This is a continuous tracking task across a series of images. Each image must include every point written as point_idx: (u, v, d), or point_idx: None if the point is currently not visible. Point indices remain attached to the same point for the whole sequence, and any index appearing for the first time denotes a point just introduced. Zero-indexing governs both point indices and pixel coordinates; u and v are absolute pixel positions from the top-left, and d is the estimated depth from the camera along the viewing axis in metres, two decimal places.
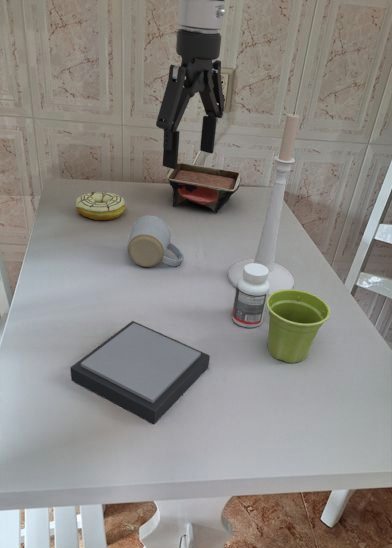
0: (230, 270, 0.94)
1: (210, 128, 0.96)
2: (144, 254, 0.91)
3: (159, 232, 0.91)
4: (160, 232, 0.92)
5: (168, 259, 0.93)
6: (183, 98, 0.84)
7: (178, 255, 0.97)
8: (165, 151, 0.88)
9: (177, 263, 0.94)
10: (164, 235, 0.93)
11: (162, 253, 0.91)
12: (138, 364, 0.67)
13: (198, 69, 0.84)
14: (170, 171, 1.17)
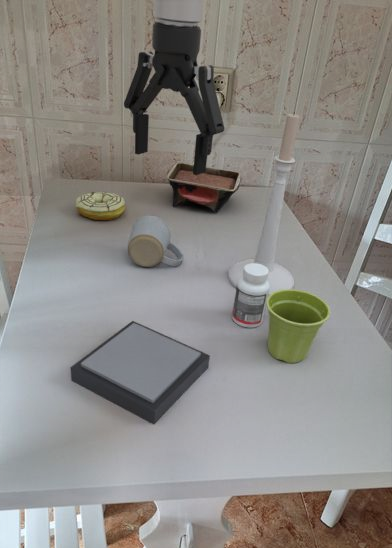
0: (230, 270, 0.94)
1: (145, 126, 0.89)
2: (144, 254, 0.91)
3: (159, 232, 0.91)
4: (160, 232, 0.92)
5: (168, 259, 0.93)
6: (199, 98, 0.80)
7: (178, 255, 0.97)
8: (199, 159, 0.83)
9: (177, 263, 0.94)
10: (164, 235, 0.93)
11: (162, 253, 0.91)
12: (138, 364, 0.67)
13: None
14: (170, 171, 1.17)
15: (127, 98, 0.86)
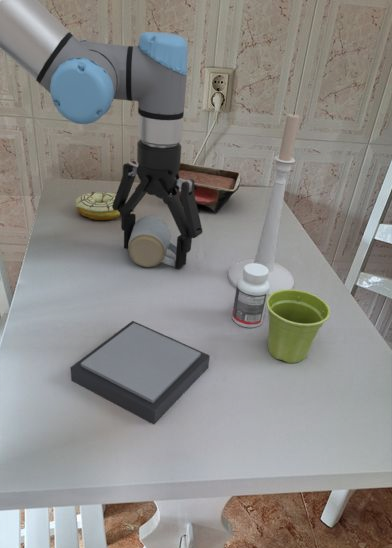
0: (230, 270, 0.94)
1: (132, 224, 0.96)
2: (144, 254, 0.91)
3: (159, 232, 0.91)
4: (161, 233, 0.92)
5: (169, 259, 0.93)
6: (180, 204, 0.88)
7: None
8: (180, 256, 0.92)
9: None
10: (164, 235, 0.93)
11: (162, 253, 0.91)
12: (138, 364, 0.67)
13: None
14: None
15: (115, 201, 0.93)
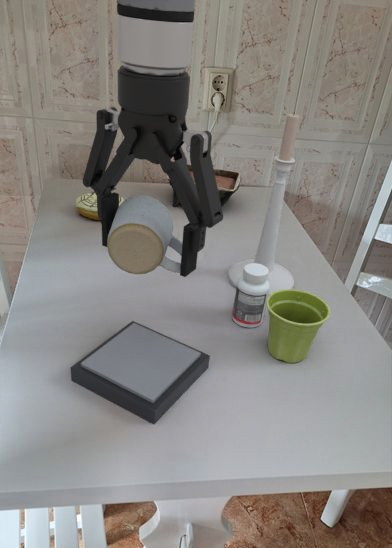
0: (230, 270, 0.94)
1: (115, 209, 0.63)
2: (132, 254, 0.59)
3: (156, 220, 0.59)
4: (158, 221, 0.59)
5: (171, 262, 0.60)
6: (188, 174, 0.55)
7: None
8: (188, 257, 0.59)
9: None
10: (164, 225, 0.60)
11: (161, 253, 0.59)
12: (138, 364, 0.67)
13: None
14: None
15: (86, 173, 0.60)
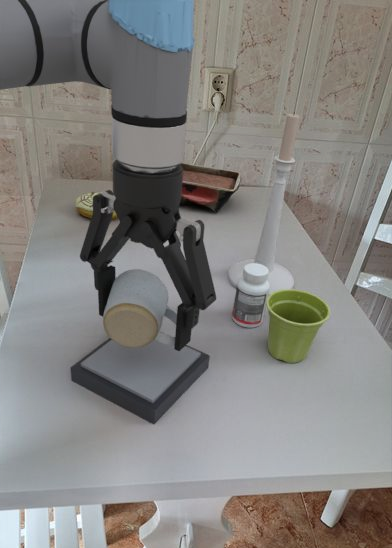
0: (230, 270, 0.94)
1: (111, 281, 0.65)
2: (128, 330, 0.60)
3: (151, 298, 0.60)
4: (153, 298, 0.60)
5: (165, 337, 0.61)
6: (181, 257, 0.57)
7: None
8: (182, 333, 0.60)
9: None
10: (159, 301, 0.61)
11: (155, 329, 0.60)
12: (138, 364, 0.67)
13: None
14: None
15: (83, 249, 0.62)
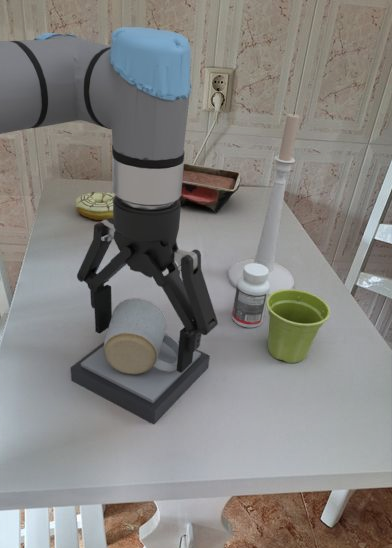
0: (230, 270, 0.94)
1: (107, 300, 0.67)
2: (127, 358, 0.63)
3: (150, 327, 0.63)
4: (151, 327, 0.63)
5: (163, 364, 0.64)
6: (181, 284, 0.59)
7: (177, 352, 0.68)
8: (184, 355, 0.62)
9: (176, 367, 0.66)
10: (157, 329, 0.64)
11: (154, 358, 0.63)
12: None
13: None
14: None
15: (81, 270, 0.64)
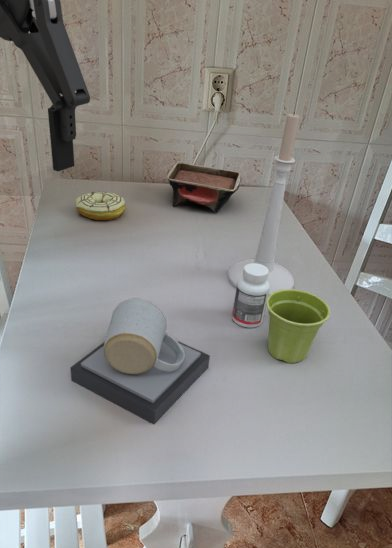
0: (230, 270, 0.94)
1: None
2: (127, 358, 0.63)
3: (150, 327, 0.63)
4: (151, 327, 0.63)
5: (163, 364, 0.64)
6: (46, 50, 0.51)
7: (177, 352, 0.68)
8: (58, 147, 0.54)
9: (176, 367, 0.66)
10: (157, 329, 0.64)
11: (154, 358, 0.63)
12: None
13: None
14: (170, 171, 1.17)
15: None
